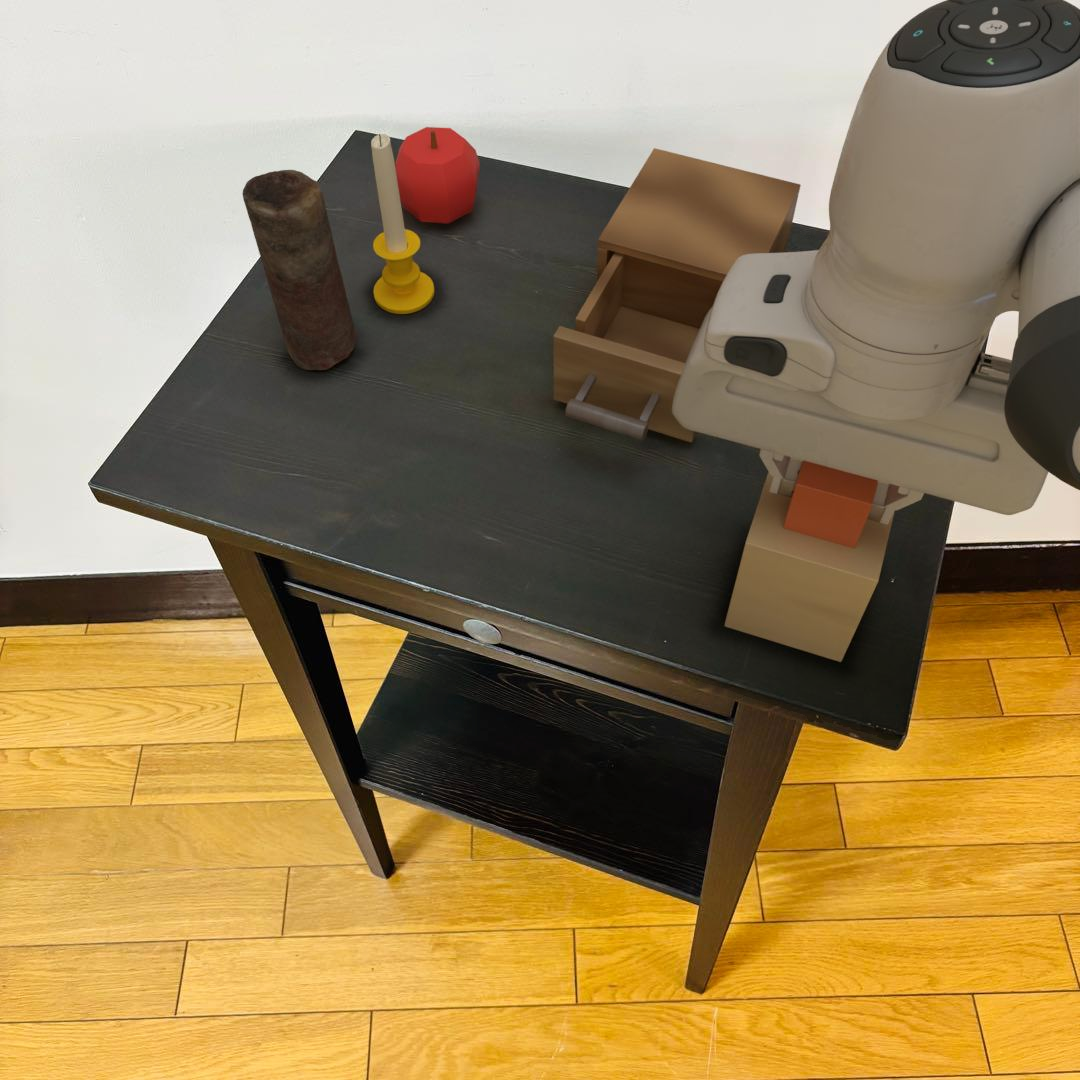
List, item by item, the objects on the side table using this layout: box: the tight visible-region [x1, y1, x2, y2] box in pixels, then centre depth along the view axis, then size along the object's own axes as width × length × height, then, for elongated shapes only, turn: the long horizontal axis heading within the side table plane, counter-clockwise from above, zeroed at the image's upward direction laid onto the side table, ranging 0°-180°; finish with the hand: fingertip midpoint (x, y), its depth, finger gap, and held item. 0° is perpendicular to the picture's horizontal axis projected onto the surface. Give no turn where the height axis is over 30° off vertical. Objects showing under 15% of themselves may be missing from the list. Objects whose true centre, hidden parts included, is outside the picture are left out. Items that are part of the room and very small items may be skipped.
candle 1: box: [242, 169, 356, 371], centre depth 82 cm, size 6×6×16 cm
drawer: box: [552, 252, 723, 443], centre depth 81 cm, size 16×11×7 cm
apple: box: [395, 126, 481, 225], centre depth 95 cm, size 8×8×8 cm
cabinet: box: [596, 147, 802, 282], centre depth 88 cm, size 13×13×9 cm
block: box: [783, 461, 878, 548], centre depth 64 cm, size 4×4×4 cm
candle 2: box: [370, 133, 436, 315], centre depth 85 cm, size 5×5×16 cm
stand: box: [723, 457, 896, 663], centre depth 69 cm, size 8×8×10 cm
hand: (829, 500), depth 64 cm, fingers closed on block, 4 cm apart
